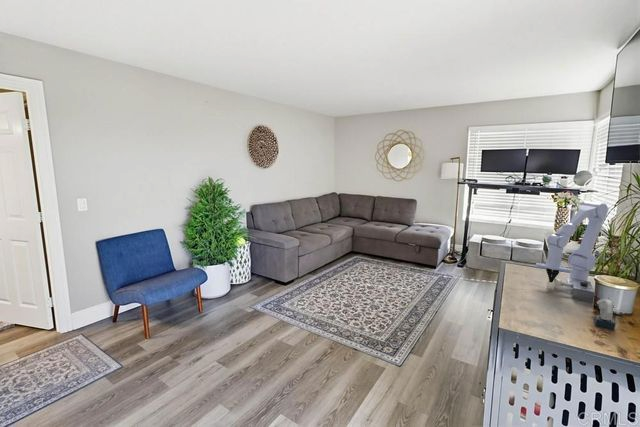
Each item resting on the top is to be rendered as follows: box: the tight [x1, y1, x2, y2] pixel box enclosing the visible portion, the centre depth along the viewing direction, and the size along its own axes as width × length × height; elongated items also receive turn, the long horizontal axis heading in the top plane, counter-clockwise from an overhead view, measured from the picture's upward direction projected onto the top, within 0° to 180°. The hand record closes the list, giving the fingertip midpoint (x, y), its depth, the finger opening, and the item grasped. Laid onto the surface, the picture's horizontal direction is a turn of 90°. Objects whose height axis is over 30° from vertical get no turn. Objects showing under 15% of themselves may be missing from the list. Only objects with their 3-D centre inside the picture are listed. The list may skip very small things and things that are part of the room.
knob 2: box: [553, 278, 572, 287], centre depth 157 cm, size 12×4×4 cm, turn 56°
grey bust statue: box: [593, 298, 616, 332], centre depth 123 cm, size 6×8×11 cm
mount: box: [569, 278, 596, 304], centre depth 151 cm, size 15×8×7 cm, turn 146°
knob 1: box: [545, 281, 573, 293], centre depth 153 cm, size 12×4×4 cm, turn 56°
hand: (550, 283), depth 161 cm, fingers closed
